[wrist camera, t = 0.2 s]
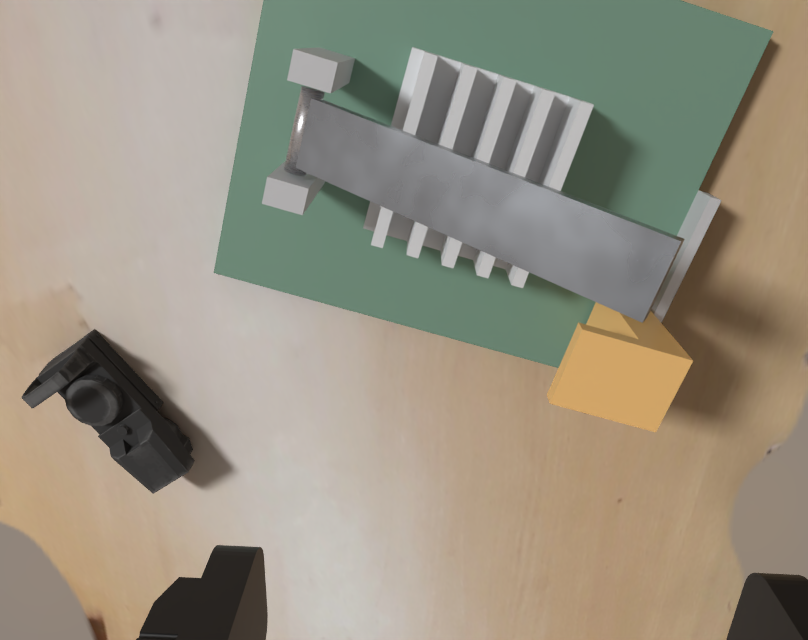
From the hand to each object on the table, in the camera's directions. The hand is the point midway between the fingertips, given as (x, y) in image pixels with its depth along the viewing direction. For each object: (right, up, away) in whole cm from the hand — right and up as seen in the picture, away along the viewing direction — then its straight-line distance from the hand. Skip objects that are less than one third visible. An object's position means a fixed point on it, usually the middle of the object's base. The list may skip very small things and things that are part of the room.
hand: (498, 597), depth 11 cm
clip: (+9, +5, +26) cm, 28 cm away
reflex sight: (-19, -1, +31) cm, 37 cm away
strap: (+1, +10, +15) cm, 18 cm away
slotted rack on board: (+2, +13, +24) cm, 28 cm away
